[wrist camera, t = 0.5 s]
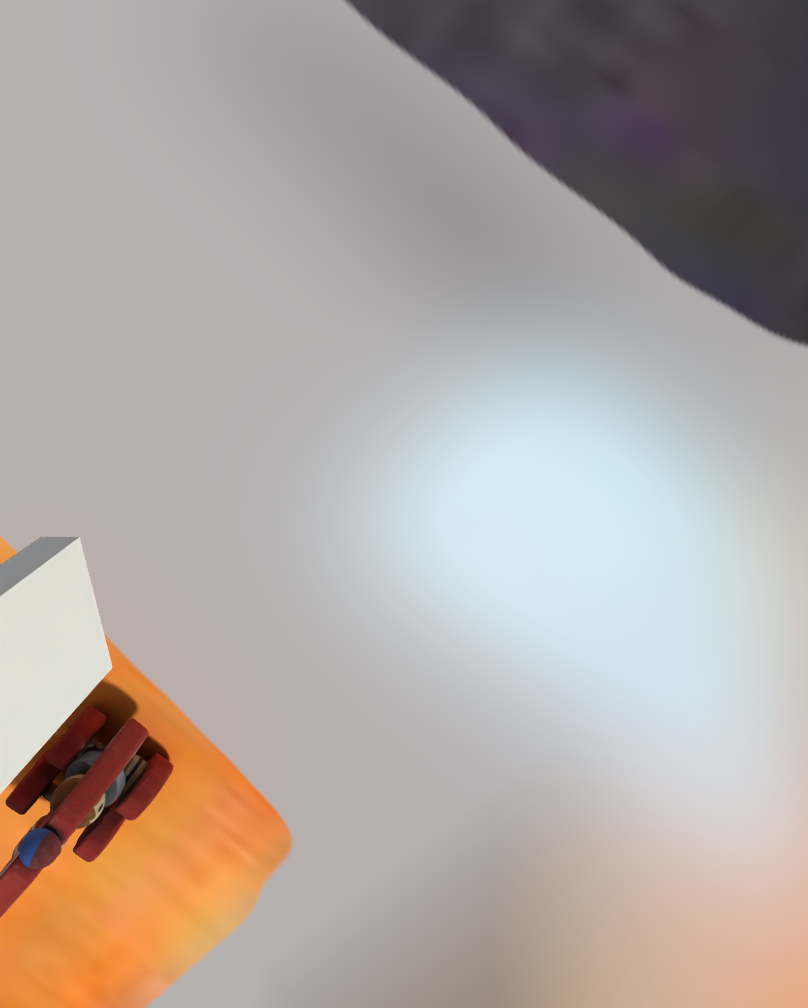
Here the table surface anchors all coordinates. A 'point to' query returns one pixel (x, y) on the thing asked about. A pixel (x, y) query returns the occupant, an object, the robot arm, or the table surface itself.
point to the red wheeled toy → (81, 797)
